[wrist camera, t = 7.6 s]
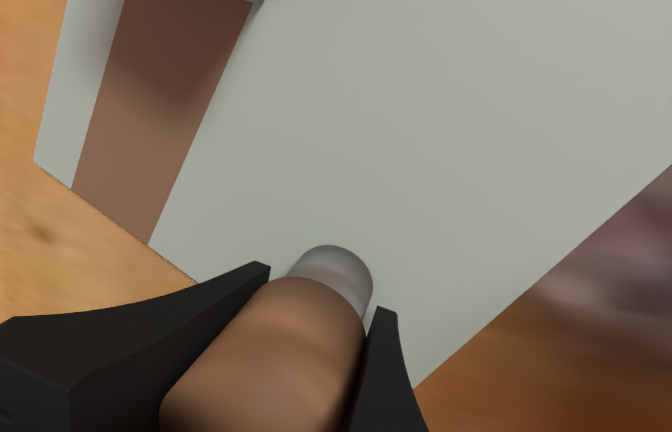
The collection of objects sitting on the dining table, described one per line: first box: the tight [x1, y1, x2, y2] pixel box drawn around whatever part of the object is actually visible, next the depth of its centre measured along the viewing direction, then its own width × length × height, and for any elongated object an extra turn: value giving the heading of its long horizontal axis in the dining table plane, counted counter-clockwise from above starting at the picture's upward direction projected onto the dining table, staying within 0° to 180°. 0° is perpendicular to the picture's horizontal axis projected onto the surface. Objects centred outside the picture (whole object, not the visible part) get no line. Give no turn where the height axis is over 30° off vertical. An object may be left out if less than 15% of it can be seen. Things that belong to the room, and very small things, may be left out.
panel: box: [33, 0, 672, 389], centre depth 12 cm, size 18×21×1 cm
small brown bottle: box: [159, 245, 373, 432], centre depth 11 cm, size 4×4×7 cm
